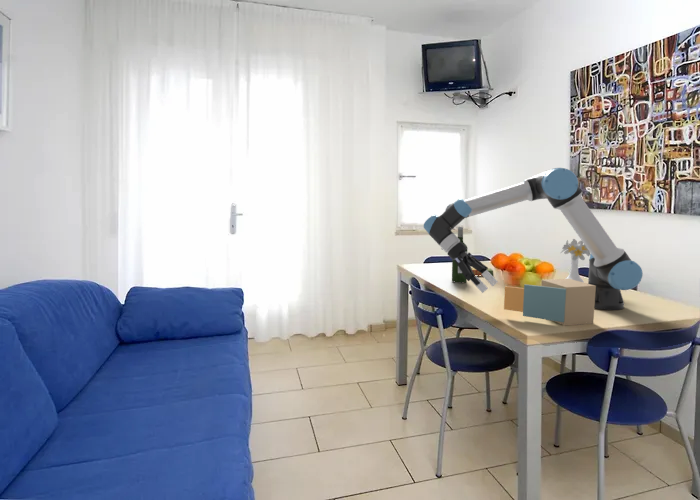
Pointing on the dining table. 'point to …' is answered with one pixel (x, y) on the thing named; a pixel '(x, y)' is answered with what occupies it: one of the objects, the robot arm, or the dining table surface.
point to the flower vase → (575, 257)
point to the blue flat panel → (536, 301)
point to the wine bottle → (456, 271)
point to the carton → (481, 273)
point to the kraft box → (575, 300)
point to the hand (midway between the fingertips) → (490, 287)
